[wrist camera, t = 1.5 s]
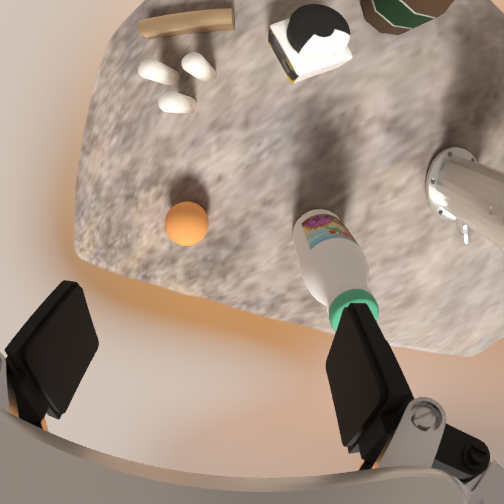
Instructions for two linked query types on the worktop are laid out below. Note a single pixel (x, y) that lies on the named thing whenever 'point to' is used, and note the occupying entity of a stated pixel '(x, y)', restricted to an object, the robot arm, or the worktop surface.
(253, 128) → the worktop surface
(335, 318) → the milk bottle
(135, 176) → the worktop surface
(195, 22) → the bar
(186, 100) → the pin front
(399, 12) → the beer bottle
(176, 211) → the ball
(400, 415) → the robot arm
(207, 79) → the pin
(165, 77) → the pin
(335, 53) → the medicine bottle
